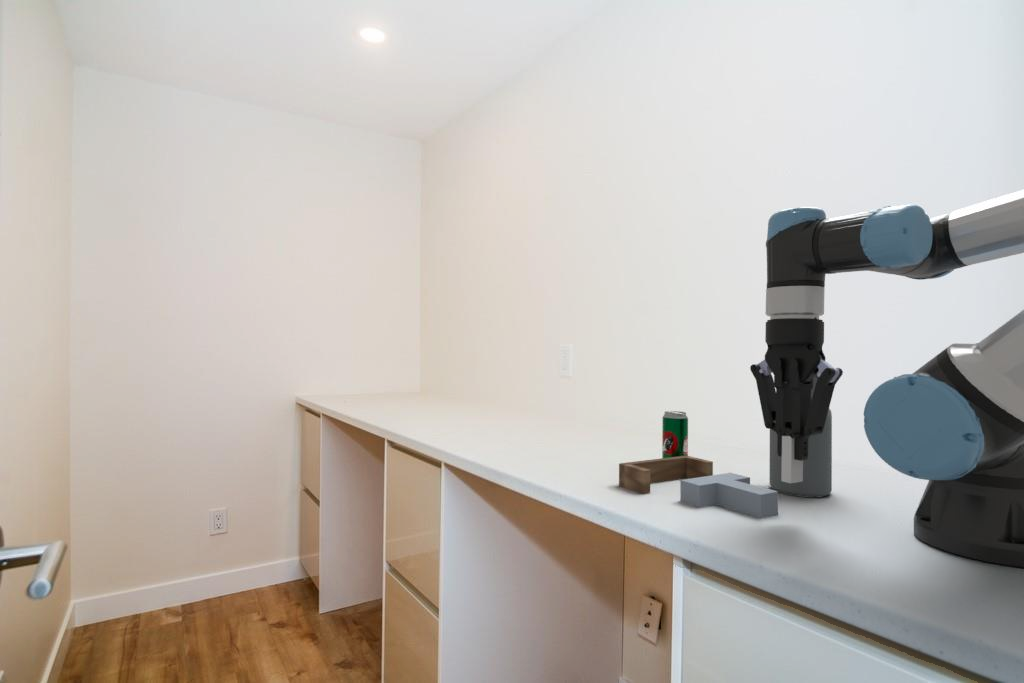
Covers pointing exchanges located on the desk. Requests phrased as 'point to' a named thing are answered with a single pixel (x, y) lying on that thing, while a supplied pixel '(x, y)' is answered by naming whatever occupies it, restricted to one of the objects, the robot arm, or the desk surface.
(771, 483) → the water bottle
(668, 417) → the soda can
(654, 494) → the desk surface
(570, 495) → the desk surface
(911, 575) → the desk surface
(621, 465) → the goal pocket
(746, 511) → the t block
